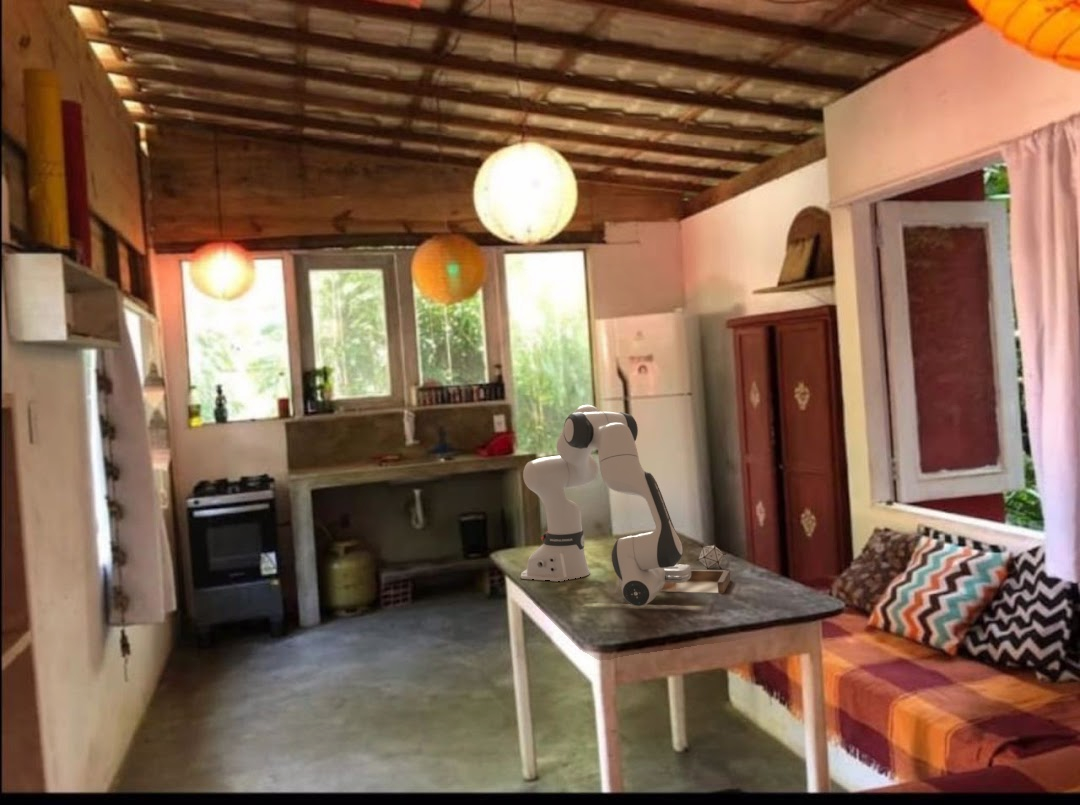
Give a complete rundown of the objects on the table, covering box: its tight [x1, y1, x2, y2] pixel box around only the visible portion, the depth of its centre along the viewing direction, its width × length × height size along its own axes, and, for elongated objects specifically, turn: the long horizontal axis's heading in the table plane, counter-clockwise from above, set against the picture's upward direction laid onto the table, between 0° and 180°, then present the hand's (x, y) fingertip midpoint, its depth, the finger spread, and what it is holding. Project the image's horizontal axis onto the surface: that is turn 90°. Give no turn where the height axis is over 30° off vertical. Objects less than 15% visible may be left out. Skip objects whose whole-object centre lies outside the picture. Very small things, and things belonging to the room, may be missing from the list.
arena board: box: [660, 569, 731, 594], centre depth 248 cm, size 22×14×4 cm, turn 70°
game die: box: [695, 542, 727, 570], centre depth 269 cm, size 9×8×10 cm
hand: (660, 565), depth 246 cm, fingers open, 8 cm apart
